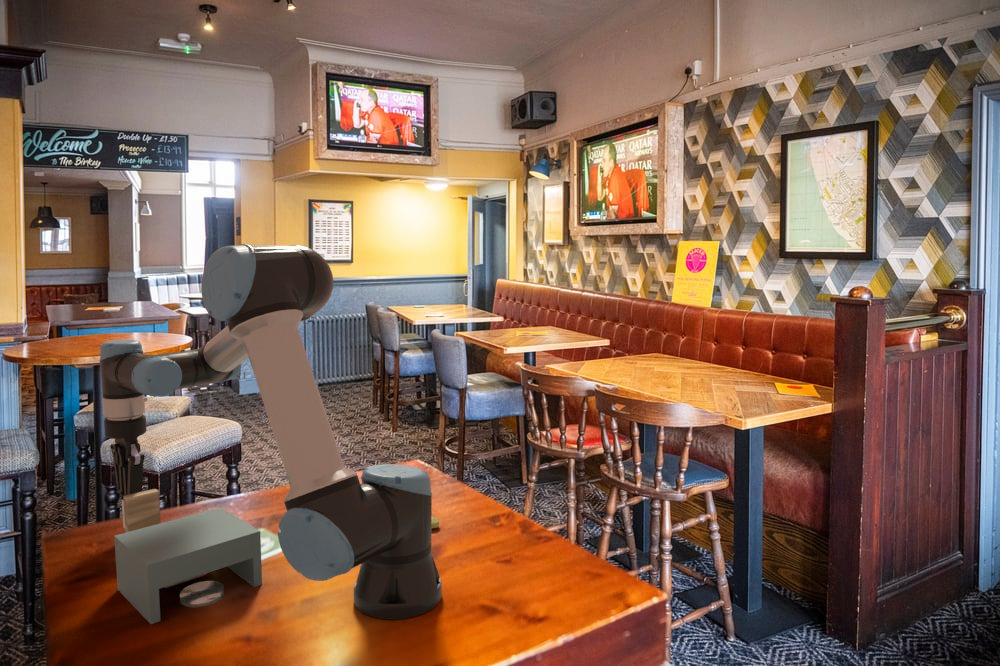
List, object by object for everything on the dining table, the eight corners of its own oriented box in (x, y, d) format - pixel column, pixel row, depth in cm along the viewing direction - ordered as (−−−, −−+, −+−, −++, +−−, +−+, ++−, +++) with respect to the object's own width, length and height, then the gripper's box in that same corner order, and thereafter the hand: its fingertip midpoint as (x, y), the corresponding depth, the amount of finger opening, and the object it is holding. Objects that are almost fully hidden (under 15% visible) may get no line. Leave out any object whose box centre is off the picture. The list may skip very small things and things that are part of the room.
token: (231, 598, 121) (230, 590, 120) (190, 613, 116) (189, 605, 115) (213, 585, 125) (213, 577, 125) (173, 598, 120) (173, 590, 120)
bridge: (262, 584, 125) (260, 531, 124) (150, 624, 112) (147, 565, 110) (223, 556, 136) (221, 507, 135) (117, 589, 123) (114, 535, 122)
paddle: (205, 575, 128) (202, 517, 126) (165, 588, 123) (162, 528, 121) (160, 539, 143) (157, 487, 142) (123, 549, 138) (120, 496, 137)
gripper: (156, 418, 140) (162, 530, 143) (133, 407, 149) (139, 513, 152) (115, 425, 134) (122, 541, 137) (94, 413, 143) (101, 522, 146)
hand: (131, 526), depth 145 cm, fingers closed
